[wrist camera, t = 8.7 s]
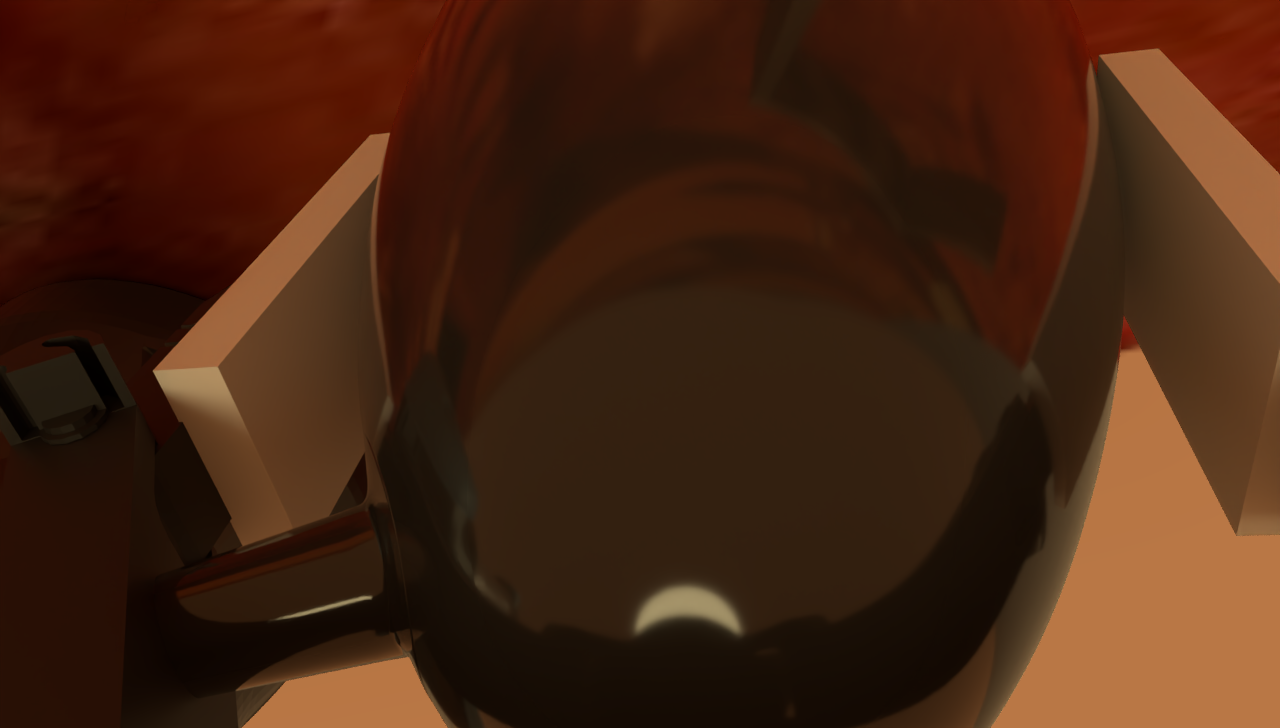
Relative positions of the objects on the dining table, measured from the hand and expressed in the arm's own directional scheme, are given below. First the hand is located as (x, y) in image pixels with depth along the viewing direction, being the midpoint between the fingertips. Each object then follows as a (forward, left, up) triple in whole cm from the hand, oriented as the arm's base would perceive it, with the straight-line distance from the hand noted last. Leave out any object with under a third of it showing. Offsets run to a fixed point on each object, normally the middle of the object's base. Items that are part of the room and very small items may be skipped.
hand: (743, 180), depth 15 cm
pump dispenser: (0, 0, -5) cm, 5 cm away
